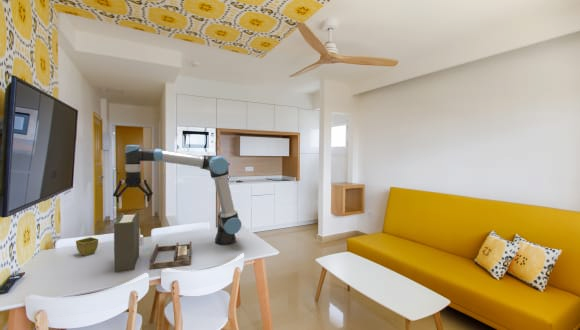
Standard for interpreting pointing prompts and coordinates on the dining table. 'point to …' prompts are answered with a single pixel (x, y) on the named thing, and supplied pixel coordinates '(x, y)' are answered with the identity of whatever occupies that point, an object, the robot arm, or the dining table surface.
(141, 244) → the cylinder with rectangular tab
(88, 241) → the flower pot
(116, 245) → the book
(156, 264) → the rack
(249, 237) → the dining table surface
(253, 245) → the dining table surface
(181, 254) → the offcut top
